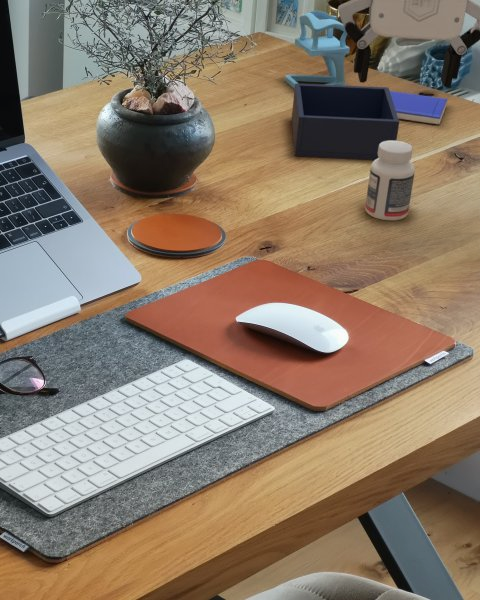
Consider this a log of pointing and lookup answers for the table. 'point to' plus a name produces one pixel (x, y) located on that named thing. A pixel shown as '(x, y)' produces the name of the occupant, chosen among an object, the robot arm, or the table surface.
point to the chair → (322, 48)
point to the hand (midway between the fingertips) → (403, 81)
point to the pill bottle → (390, 181)
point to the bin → (342, 121)
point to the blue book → (418, 107)
